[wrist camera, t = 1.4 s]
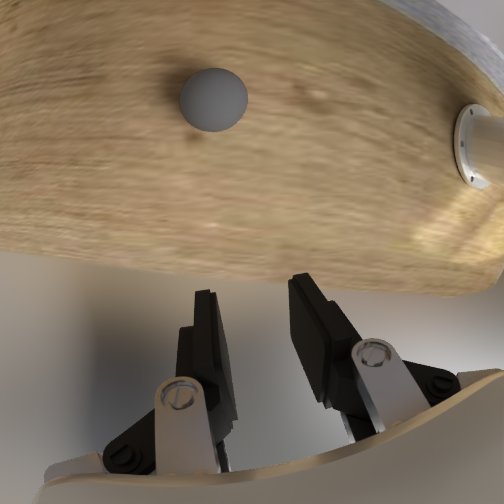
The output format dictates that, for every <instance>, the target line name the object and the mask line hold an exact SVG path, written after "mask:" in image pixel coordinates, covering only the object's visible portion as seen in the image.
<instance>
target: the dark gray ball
mask: <svg viewBox="0 0 504 504" xmlns="http://www.w3.org/2000/svg"><path fill="white" fill-rule="evenodd" d="M179 104H180V109H181V112H182V114H183V116H184V118H185V119H186V120H187V121H188V123H190V124H191V125H192V126H194V127H195V128H197V129H200V130H203V131H208V132H217V131H222V130H225V129H228V128H230V127H231V126H233V125H234V124H236V123H237V122H238V121H239V120H240V119H241V117H242V116H243V114H244V112H245V110H246V108H247V104H248V94H247V90H246V87H245V85H244V83H243V82H242V80H241V79H240V78H239V77H238V76H237V75H235V74H234V73H232V72H230V71H228V70H225V69H220V68H209V69H205V70H202V71H199V72H197V73H196V74H194V75H193V76H191V77H190V78H189V79H188V80H187V82H186V83H185V84H184V86H183V88H182V90H181V93H180V99H179Z"/></svg>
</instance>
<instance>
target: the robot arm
mask: <svg viewBox="0 0 504 504" xmlns="http://www.w3.org/2000/svg"><path fill="white" fill-rule="evenodd" d="M454 149H455V157H456V162H457V165H458V168H459V171H460V173H461V176H462V177H463V179H464V181H465V182H466V183H467V184H468V185H469V186H471V187H473V188H476V189H484V188H486V187H487V186H489V185H490V184H491V183H494V184H497V185H500V186H503V187H504V118H503V117H495V116H491V114H490V113H489V112H488V110H487V109H485V108H484V107H483V106H481V105H478V104H469V105H467V106H465V107H464V108H463V109H462V110H461V112H460V114H459V116H458V118H457V121H456V126H455V133H454ZM288 288H289V310H290V334H291V339H292V342H293V344H294V347H295V349H296V352H297V354H298V356H299V359H300V361H301V364H302V366H303V369H304V371H305V373H306V376H307V378H308V381H309V383H310V385H311V388H312V390H313V393H314V395H315V397H316V400H317V402H318V403H320V402H323V404H324V407H325V409H327V408H331V407H333V409H335V410H338V411H340V414H341V418H342V421H343V423H344V426H345V429H346V432H347V435H348V438H349V441H350V445H347V446H344V447H341V448H338V449H335V450H332V451H328V452H325V453H322V454H318V455H315V456H311V457H307V458H304V459H300V460H296V461H291V462H287V463H282V464H278V465H272V466H267V467H261V468H256V469H249V470H242V471H235V472H231V468H230V464H229V460H228V455H227V452H226V447H225V442H224V438H225V437H226V436H227V435H228V434H229V433H230V432H231V429H233V423H232V421H234V420H238V417H237V411H236V404H235V398H234V390H233V383H232V376H231V369H230V362H229V354H228V348H227V343H226V338H225V334H224V329H223V324H222V320H221V315H220V310H219V305H218V301H217V296H216V292H213V293H210V289H208V290H201V291H196V292H195V305H194V306H195V307H194V326H188V327H181V328H180V330H179V340H178V351H177V363H176V377H175V378H172V379H170V380H167V381H166V382H164V383H163V384H162V385H161V386H160V387H159V388H158V390H157V392H156V396H155V408H154V409H153V410H152V411H150V412H149V413H148V414H147V415H146V416H144V417H143V418H142V419H140V420H139V421H138V422H136V423H135V424H134V425H133V426H132V427H130V428H129V429H127V430H126V431H125V432H123V433H122V434H121V435H119V436H118V437H117V438H115V439H114V440H113V441H111V442H110V443H109V444H108V445H107V446H106V448H105V450H104V451H103V452H102V453H98V452H97V451H95V452H92V453H90V454H86V455H83V456H80V457H77V458H73V459H70V460H66V461H63V462H59V463H55V464H53V465H51V466H49V467H48V468H47V470H46V471H45V474H44V484H43V485H42V486H41V487H40V488H39V489H38V491H37V493H36V494H35V497H34V499H33V502H32V504H504V370H501V369H487V370H479V371H469V372H458V373H457V375H456V376H455V375H454V374H453V373H451V372H449V371H447V370H444V369H440V368H435V367H430V366H426V365H422V364H417V363H413V362H409V361H405V360H401V358H400V356H399V355H398V353H397V352H396V350H395V349H394V348H393V346H392V345H390V344H389V343H388V342H386V341H384V340H381V339H374V338H371V339H365V340H363V339H362V338H361V337H360V335H359V334H358V332H357V331H356V330H355V328H354V327H353V325H352V324H351V323H350V321H349V320H348V319H347V317H346V316H345V314H344V313H343V312H342V310H341V309H340V307H339V306H338V305H337V303H336V302H335V301H333V300H332V301H327V299H326V298H325V296H324V295H323V294H322V292H321V291H320V289H319V288H318V286H317V285H316V284H315V282H314V281H313V279H312V278H311V277H310V275H309V274H308V273H302V274H296V275H293V279H290V280H288Z"/></svg>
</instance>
